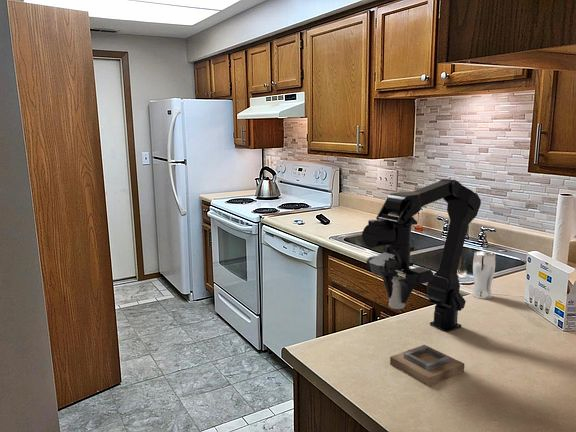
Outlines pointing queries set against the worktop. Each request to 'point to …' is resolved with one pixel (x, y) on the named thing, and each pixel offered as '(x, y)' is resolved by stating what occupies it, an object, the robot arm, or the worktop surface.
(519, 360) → the worktop surface
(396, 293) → the rook chess piece
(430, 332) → the worktop surface
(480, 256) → the beer glass
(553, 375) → the worktop surface
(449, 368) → the plinth
